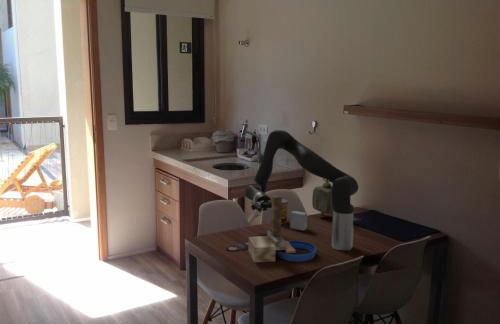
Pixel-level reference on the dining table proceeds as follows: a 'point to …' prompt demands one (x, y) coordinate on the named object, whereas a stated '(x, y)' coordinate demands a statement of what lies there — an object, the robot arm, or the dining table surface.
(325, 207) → the tabletop clock
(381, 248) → the dining table surface
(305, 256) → the bowl
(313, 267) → the dining table surface
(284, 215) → the canned food
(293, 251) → the tile
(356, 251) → the dining table surface
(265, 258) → the beige square open box
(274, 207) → the scraper
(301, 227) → the medicine box
